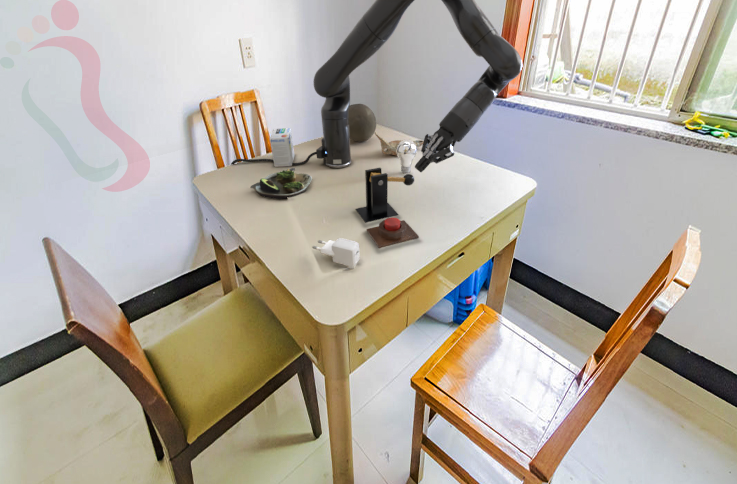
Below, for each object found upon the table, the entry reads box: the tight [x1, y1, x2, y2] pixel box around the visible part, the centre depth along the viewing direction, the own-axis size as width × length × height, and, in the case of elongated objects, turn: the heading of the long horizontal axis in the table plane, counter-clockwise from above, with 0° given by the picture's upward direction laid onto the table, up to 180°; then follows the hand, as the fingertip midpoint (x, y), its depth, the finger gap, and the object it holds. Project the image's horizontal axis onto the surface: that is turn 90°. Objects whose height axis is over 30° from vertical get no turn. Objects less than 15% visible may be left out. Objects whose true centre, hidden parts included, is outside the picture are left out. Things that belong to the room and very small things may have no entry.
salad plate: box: [250, 167, 313, 200], centre depth 123 cm, size 19×18×5 cm
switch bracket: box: [355, 167, 400, 224], centre depth 103 cm, size 10×8×13 cm
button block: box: [366, 219, 420, 249], centre depth 97 cm, size 11×8×4 cm
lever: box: [369, 173, 415, 187], centre depth 103 cm, size 13×3×3 cm, turn 113°
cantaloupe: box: [348, 103, 377, 143], centre depth 151 cm, size 14×14×15 cm
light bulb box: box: [269, 127, 295, 168], centre depth 138 cm, size 11×7×11 cm, turn 5°
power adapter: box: [311, 237, 361, 270], centre depth 89 cm, size 11×5×6 cm, turn 66°
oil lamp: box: [374, 131, 424, 157], centre depth 142 cm, size 9×21×10 cm, turn 115°
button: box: [384, 216, 401, 231], centre depth 95 cm, size 4×4×2 cm
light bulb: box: [396, 139, 418, 174], centre depth 126 cm, size 7×7×12 cm
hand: (417, 169), depth 104 cm, fingers closed
